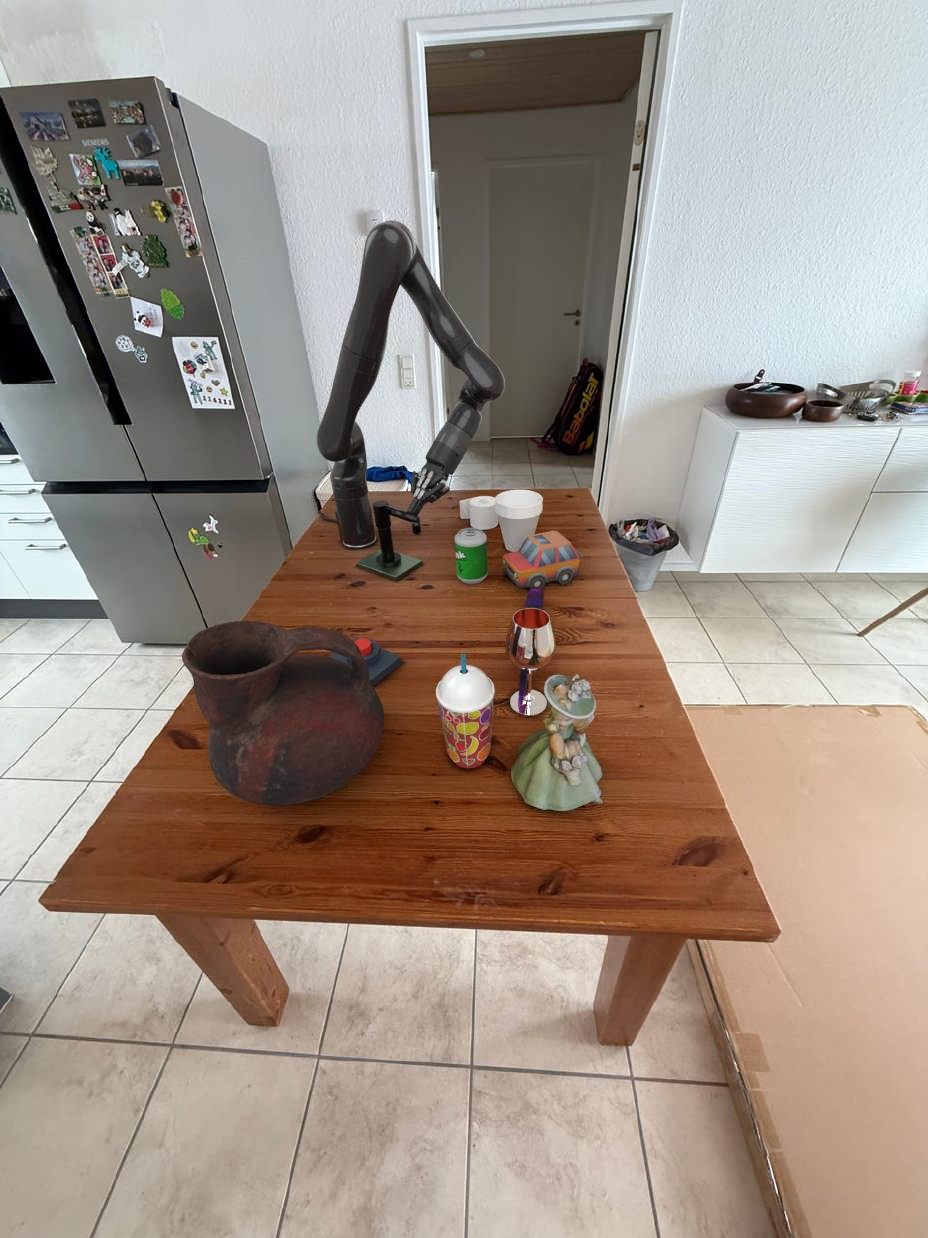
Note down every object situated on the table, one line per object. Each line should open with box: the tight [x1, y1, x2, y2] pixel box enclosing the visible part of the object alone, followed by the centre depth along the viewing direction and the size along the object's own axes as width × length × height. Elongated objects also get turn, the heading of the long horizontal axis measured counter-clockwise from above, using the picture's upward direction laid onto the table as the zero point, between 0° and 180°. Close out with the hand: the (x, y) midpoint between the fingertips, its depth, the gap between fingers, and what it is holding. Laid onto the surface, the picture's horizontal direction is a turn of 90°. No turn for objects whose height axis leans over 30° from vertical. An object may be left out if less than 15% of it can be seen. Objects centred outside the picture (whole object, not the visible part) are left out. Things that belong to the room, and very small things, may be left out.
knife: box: [518, 587, 545, 709], centre depth 98 cm, size 37×4×5 cm, turn 169°
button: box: [354, 638, 372, 657], centre depth 97 cm, size 4×4×2 cm
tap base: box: [355, 526, 423, 582], centre depth 129 cm, size 14×10×11 cm
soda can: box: [454, 527, 489, 585], centre depth 121 cm, size 8×8×12 cm
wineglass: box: [504, 607, 557, 717], centre depth 84 cm, size 8×8×18 cm
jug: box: [181, 620, 385, 807], centre depth 73 cm, size 25×25×25 cm
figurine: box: [510, 673, 604, 812], centre depth 69 cm, size 14×14×20 cm
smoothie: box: [435, 653, 496, 769], centre depth 74 cm, size 8×8×20 cm
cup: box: [494, 489, 544, 553], centre depth 133 cm, size 12×12×14 cm
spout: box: [372, 500, 422, 536], centre depth 121 cm, size 15×4×6 cm, turn 48°
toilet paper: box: [458, 495, 499, 531], centre depth 148 cm, size 8×11×7 cm
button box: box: [328, 636, 402, 688], centre depth 99 cm, size 12×8×4 cm, turn 54°
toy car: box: [502, 530, 584, 590], centre depth 121 cm, size 12×17×10 cm
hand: (411, 514), depth 118 cm, fingers closed
